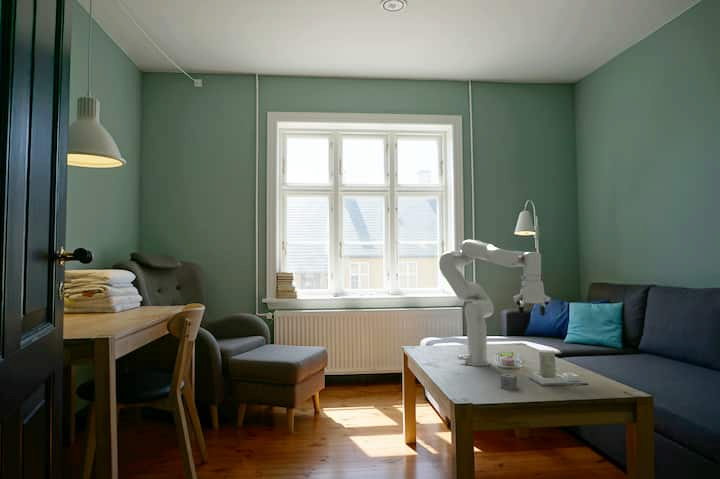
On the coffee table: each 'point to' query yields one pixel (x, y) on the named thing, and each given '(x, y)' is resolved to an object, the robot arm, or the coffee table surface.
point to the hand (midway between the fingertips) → (531, 315)
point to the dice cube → (508, 381)
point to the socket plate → (557, 379)
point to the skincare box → (547, 364)
